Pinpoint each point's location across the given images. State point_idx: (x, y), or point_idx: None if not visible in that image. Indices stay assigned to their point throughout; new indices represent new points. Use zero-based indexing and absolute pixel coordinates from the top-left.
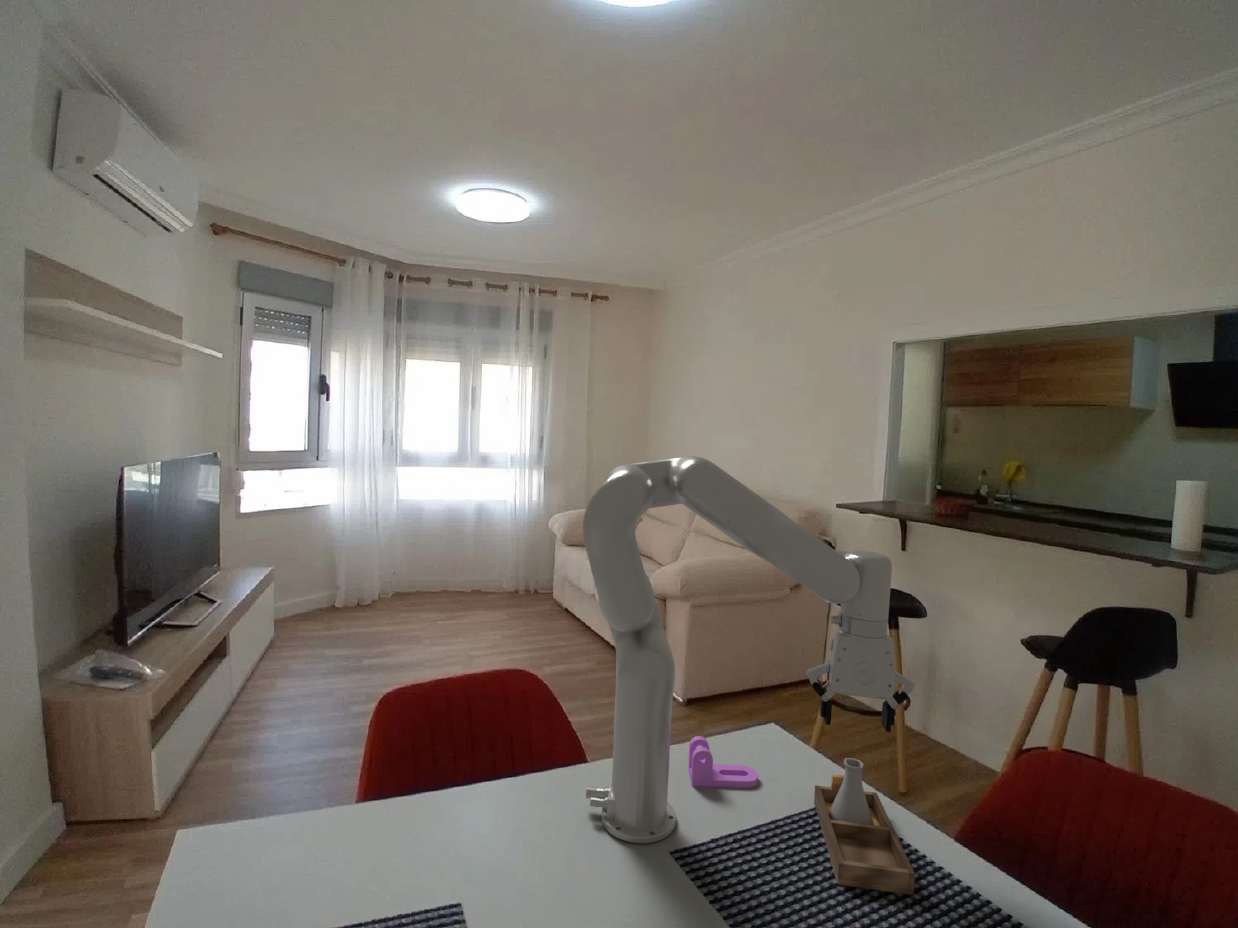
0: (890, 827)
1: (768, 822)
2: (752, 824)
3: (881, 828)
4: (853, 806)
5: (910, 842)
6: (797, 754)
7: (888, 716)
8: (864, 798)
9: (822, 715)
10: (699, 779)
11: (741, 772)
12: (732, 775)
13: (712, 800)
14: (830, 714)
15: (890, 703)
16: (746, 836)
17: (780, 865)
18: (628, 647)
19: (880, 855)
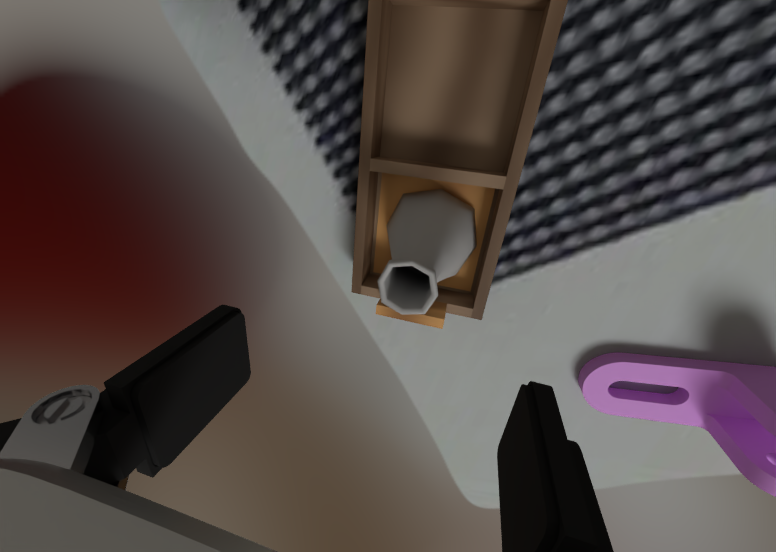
0: (364, 168)
1: (631, 232)
2: (683, 223)
3: (386, 163)
4: (433, 216)
5: (331, 182)
6: (451, 435)
7: (173, 356)
8: (397, 235)
9: (574, 445)
10: (771, 376)
11: (618, 394)
12: (656, 383)
13: (751, 312)
14: (539, 433)
15: (75, 425)
16: (732, 173)
17: (693, 56)
18: None
19: (411, 114)
